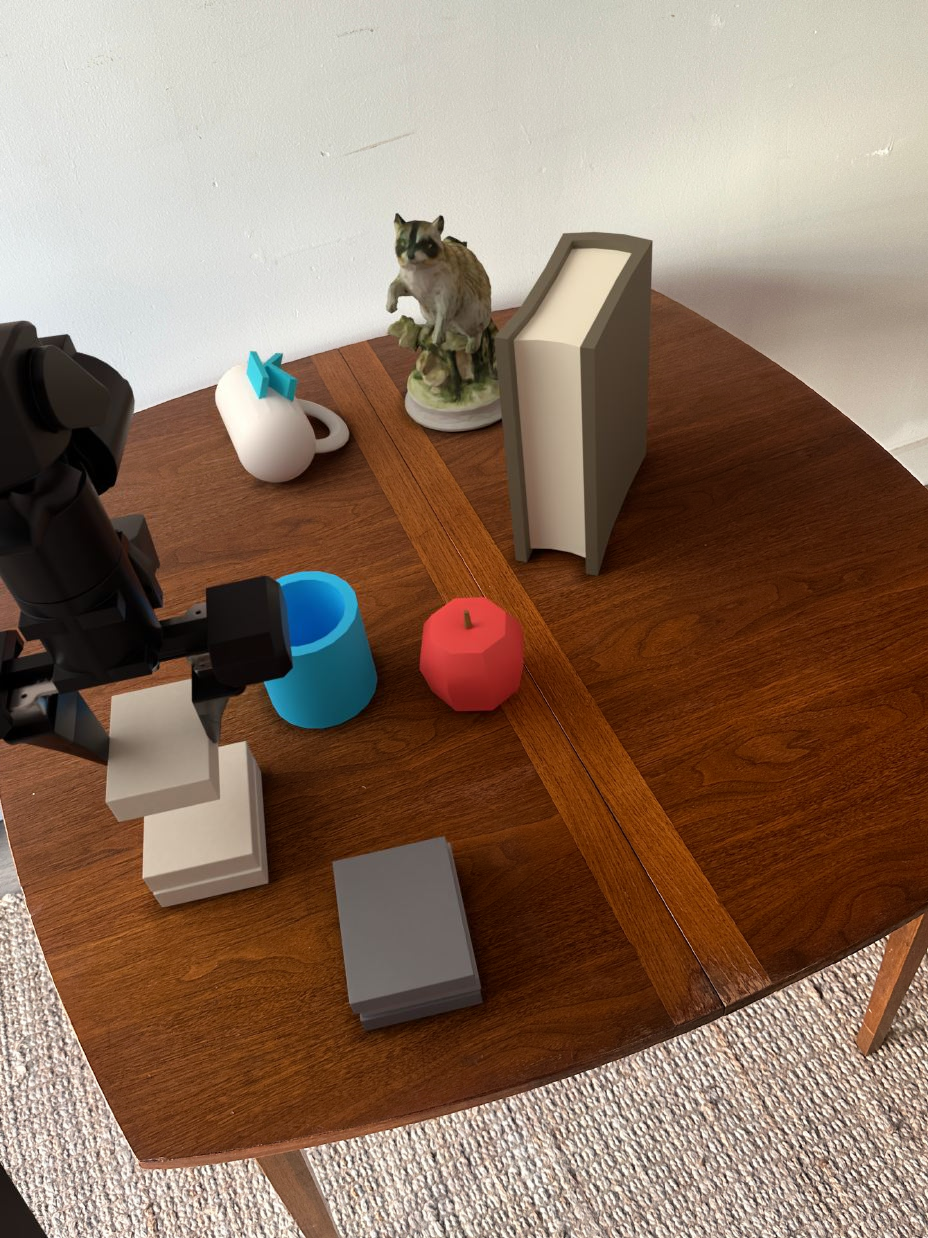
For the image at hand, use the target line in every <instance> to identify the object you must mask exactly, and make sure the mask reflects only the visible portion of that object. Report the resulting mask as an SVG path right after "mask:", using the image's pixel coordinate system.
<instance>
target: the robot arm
mask: <svg viewBox="0 0 928 1238" xmlns="http://www.w3.org/2000/svg"><path fill="white" fill-rule="evenodd" d="M37 331H38V330H37V327H36V325H35V324H33V323H32V322H31V321H29V320H23V319H22V320H17V321H9V322H2V323H1V322H0V578H1V580H2V582H3V584H4V585H5V587H6V588H7V590H8V591H9V593H10V594H11V596H12V598H13V599H14V601H15V603H16V604H17V606H18V608H19V609H20V613H19V619H18V626H17V629H18V630H17V629H6V630H0V740H3V742H4V743H5V744H6V745H9V746H15V745H21V744H25V745H28V746H34V747H38V748H43V749H47V750H51V751H56V752H59V753H63V754H66V755H67V754H68V755H70V756H74V757H77V758H79V759H84V760H86V761H90V762H93V763H96V764H99V765H103V766H105V767H108V756H109V740H110V737H109V736H110V734H108V732H107V731H106V729H105V727H104V726H103V725H102V723H101V722H100V720H99V719H98V717H97V716H96V715H95V712H93V711H92V709H91V707H90V706H89V705H88V703H87V701H86V700H85V699H84V697H83V695H82V694H81V693H80V691H83V690H87V689H91V688H96V687H101V686H105V685H106V686H107V685H110V684H115V683H119V682H123V681H129V680H133V679H138V678H142V677H147V676H151V675H152V676H153V673H156V672H158V671H159V670H160V668H161V663H163V662H164V663H165V662H169V661H173V660H177V659H183V658H185V659H186V660H187V663H188V665H189V666H190V668H191V669H190V671H191V672H190V673H191V674H190V676H191V678H190V679H191V682H192V703H193V705H194V708H195V710H196V712H197V715H198V717H199V719H200V721H201V724H202V726H203V728H204V730H205V733H206V735H207V737H208V738H209V739H210V740H211V741H212V742H213V743H214V744H215V743H218V744H219V743H221V733H222V719H223V715H224V712H225V710H226V707H227V705H228V702H229V700H230V699H231V698H234V697H238V696H241V695H242V694H243V693H244V692H245V691H246V690H247V686H251V685H256V684H261V683H264V682H266V681H270V680H275V679H279V678H284V677H285V676H286V675H287V674H288V673H289V672H290V670H291V669H292V668H293V661H292V652H291V642H290V632H289V623H288V613H287V603H286V600H285V597H284V594H283V591H282V588H281V585H280V583H279V582H277V581H276V580H277V579H274V578H272V577H271V576H269V575H267V574H265V575H259V576H256V577H250V578H246V579H242V580H237V581H232V582H226V583H223V584H222V583H221V584H218V585H212V586H208V587H205V601H204V602H200V603H196V604H193V605H191V606H189V608H188V609H187V610H186V612H185V613H184V614H183V615H180V616H174V617H170V618H165V619H160V620H159V618H158V616H157V614H156V613H155V610H158V609H162V608H163V607H164V592H163V589H162V587H161V585H160V583H159V580H158V579H157V577H156V572H157V570H158V569H159V568H160V567H161V562H160V559H159V556H158V553H157V550H156V547H155V543H154V541H153V538H152V535H151V531H150V529H149V526H148V523H147V520H146V517H145V515H144V514H141V513H136V514H135V513H134V514H128V515H127V514H126V515H123V516H117V517H114V518H110V517H109V514H108V513H107V510H106V508H105V506H104V504H103V502H102V500H101V498H100V496H101V495H103V494H105V493H107V492H108V491H109V489H111V488H114V487H115V486H116V482H117V479H118V475H119V472H120V468H121V463H122V460H123V455H124V452H125V448H126V444H127V441H128V436H129V433H130V429H131V424H132V421H133V417H134V413H135V403H136V400H135V396H134V395H135V394H134V391H133V388H132V386H131V383H130V382H129V380H128V379H126V378H124V377H123V376H122V375H121V373H120V372H119V371H118V370H116V369H115V368H114V367H113V366H111V365H110V364H109V363H108V362H106V361H104V360H102V359H100V358H98V357H96V356H94V355H90V354H88V353H83V352H79V351H78V350H77V348H76V347H75V345H74V342H73V340H72V337H71V335H70V334H68V333H64V334H56V335H48V336H43V337H39V336H38V332H37ZM19 632H20V633H19ZM21 635H22V636H21ZM24 640H25V641H26V643H28V642H33V641H37V640H39V642H40V643H41V645H42V647H43V648H44V650H45V651H42V652H37V653H33V654H28V655H23V656H20V655H21V653H22V652H23V650H24V647H25V641H24ZM0 1238H49V1237H48V1235H47V1233H46V1232H45V1230H44V1228H43V1227H42V1225H41V1223H40V1222H39V1221H38V1219H37V1218H36V1216H35V1214H34V1213H33V1211H32V1210H31V1208H30V1206H29V1205H28V1203H27V1202H26V1200H25V1198H24V1197H23V1196H22V1194H21V1192H20V1191H19V1189H18V1187H17V1186H16V1185H15V1183H14V1181H13V1180H12V1178H11V1177H10V1175H9V1174H8V1172H7V1170H6V1169H5V1167H4V1165H3V1163H1V1161H0Z"/></svg>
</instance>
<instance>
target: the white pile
mask: <svg viewBox="0 0 928 1238" xmlns="http://www.w3.org/2000/svg"><path fill="white" fill-rule="evenodd" d="M218 750H219V779H220V799H219V800H215V801H211V802H206V803H202V804H197V805H193V806H189V807H184V808H180V809H175V810H171V811H166V812H162V813H157V814H153V815H149V816H144V817H143V846H142V851H143V852H142V880H143V881H144V883H145V884H146V886H147V887H148V889H149V890H150V891H151V892H153V896H154V898H155V899H156V900H157V902H158V904H159V905H160V906H161V907H162V908H167V907H171V906H176V905H180V904H184V903H189V902H193V901H198V900H203V899H206V898H210V897H215V896H220V895H223V894H229V893H233V892H236V891H242V890H245V889H249V888H254V887H258V886H262V885H266V884H269V870H268V856H267V855H268V853H267V841H266V825H265V813H264V810H265V809H264V797H263V782H262V781H263V780H262V771H261V769H260V767H259V764H258V762H257V760H256V758H255V757H254V756H253V753H252V751H251V748H250V746H249V744H248V741H246V740H243V741H239V742H234V743H230V744H226V745H225V744H224V745H222V746H218Z"/></svg>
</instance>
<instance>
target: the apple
mask: <svg viewBox="0 0 928 1238" xmlns="http://www.w3.org/2000/svg"><path fill="white" fill-rule="evenodd" d="M524 639H525V633H524V630H523V629H522V626H521V623H520V621H519V620H518V619H517V618H516V617H514V616H513V615H511V614H510V613H508V611H506V610H505V609H503V608H502V607H500V606H499V605H498V604H496V603H495V602H493V601H492V600H490V599H489V598H487V597H485V596H481V597H480V596H479V597H478V596H477V597H454V598H452V599H451V601H448V602H447V603H446V604H445V605H443V606H442V607H441V608H439V609H438V610H436V611H435V612H434V613H432V614H431V615H430V616H429V618H428V619H427V620H426V621H425V622H424V623H423V628H422V638H421V648H420V657H419V658H420V659H419V671H420V672H421V674H422V676H423V678H424V679H425V681H426V683H427V685H428V687H429V689H430V690H431V692H432V693H433V694H434V695H435V696H437V697H438V698H439V699H441V700H442V701H443V702H444V703H445V704H447V705H448V706H449V708H451V709H453V710H454V711H455V712H478V711H479V712H482V711H483V712H484V711H493V710H495V709H496V708H498V707H499V706H500V705H501V704H502V703H504V702H505V701H506V700H508V699H509V698H510V697H511V696H512V695H514V694H515V693H516V692H517V691H519V690H520V684H521V680H522V674H523V669H524V647H525V645H524V644H525V643H524V642H525V640H524Z"/></svg>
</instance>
